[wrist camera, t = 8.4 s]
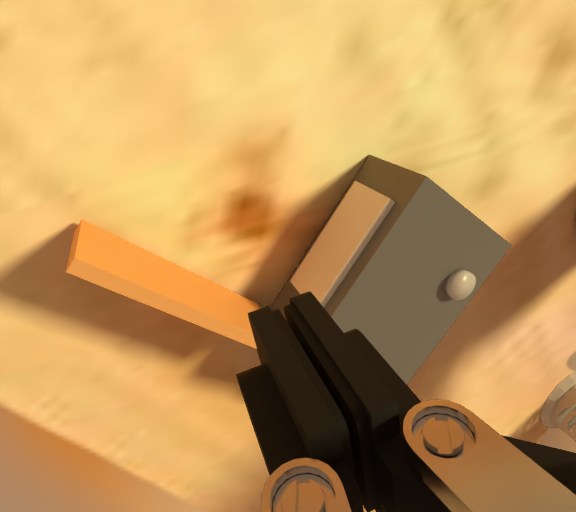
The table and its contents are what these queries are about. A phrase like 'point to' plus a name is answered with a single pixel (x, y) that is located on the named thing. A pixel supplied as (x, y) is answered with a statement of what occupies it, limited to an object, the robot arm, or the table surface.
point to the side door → (158, 283)
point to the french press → (562, 407)
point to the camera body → (396, 263)
